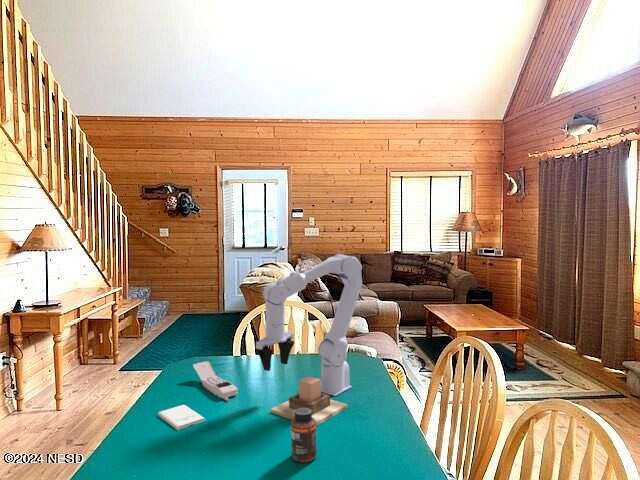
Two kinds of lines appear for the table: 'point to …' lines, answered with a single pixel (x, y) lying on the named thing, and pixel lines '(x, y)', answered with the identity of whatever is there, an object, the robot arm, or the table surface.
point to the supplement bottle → (303, 436)
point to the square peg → (309, 389)
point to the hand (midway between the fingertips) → (275, 366)
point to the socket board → (319, 408)
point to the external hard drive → (181, 417)
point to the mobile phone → (214, 381)
